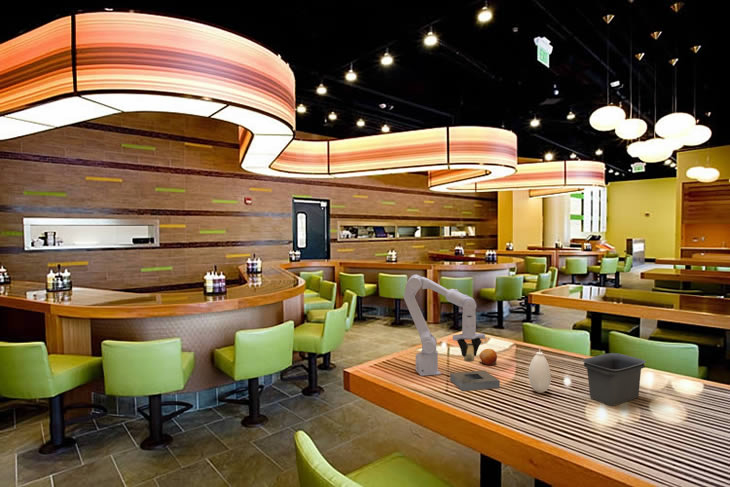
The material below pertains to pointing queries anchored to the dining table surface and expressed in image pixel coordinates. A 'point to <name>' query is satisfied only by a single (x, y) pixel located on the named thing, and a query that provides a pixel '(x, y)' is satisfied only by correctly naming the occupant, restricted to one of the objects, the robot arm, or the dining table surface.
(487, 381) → the jig
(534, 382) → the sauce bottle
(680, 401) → the dining table surface
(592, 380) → the storage bin
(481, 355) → the fruit
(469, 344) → the bushing
